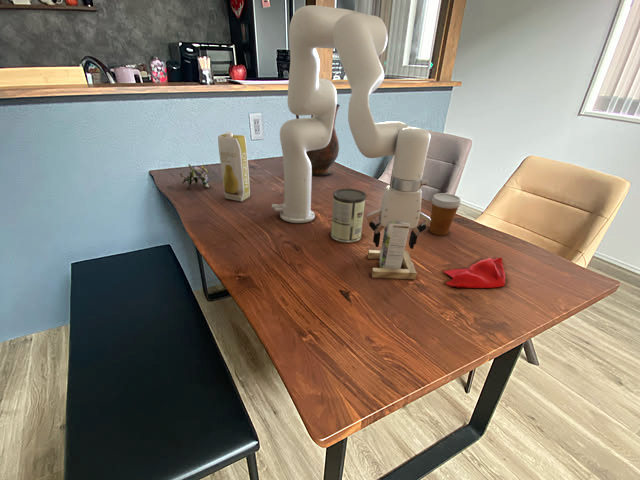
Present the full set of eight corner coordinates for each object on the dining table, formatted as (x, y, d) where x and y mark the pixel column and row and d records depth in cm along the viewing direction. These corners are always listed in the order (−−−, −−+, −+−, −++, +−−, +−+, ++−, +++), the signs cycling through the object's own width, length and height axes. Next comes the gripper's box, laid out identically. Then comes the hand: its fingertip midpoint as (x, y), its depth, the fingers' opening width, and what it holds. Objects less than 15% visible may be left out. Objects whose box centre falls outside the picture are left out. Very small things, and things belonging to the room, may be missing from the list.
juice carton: (222, 198, 144) (213, 132, 130) (233, 193, 150) (226, 128, 136) (242, 202, 142) (236, 135, 127) (252, 196, 148) (248, 131, 133)
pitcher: (343, 176, 176) (348, 104, 157) (303, 180, 168) (304, 105, 150) (327, 167, 187) (331, 99, 169) (289, 170, 179) (288, 100, 161)
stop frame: (372, 277, 100) (373, 271, 99) (367, 255, 111) (368, 249, 110) (415, 279, 101) (416, 273, 99) (406, 257, 111) (407, 251, 110)
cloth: (468, 299, 94) (471, 291, 92) (431, 274, 103) (433, 267, 102) (532, 276, 105) (535, 269, 103) (493, 256, 114) (495, 249, 113)
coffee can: (335, 227, 126) (338, 186, 118) (364, 232, 124) (369, 191, 115) (326, 239, 119) (328, 196, 110) (356, 245, 116) (361, 201, 108)
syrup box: (378, 261, 108) (385, 214, 99) (398, 262, 108) (407, 215, 99) (380, 271, 103) (388, 222, 95) (401, 272, 103) (410, 223, 95)
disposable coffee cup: (437, 239, 122) (446, 204, 115) (419, 228, 129) (426, 194, 122) (458, 234, 126) (468, 200, 119) (439, 224, 133) (447, 191, 125)
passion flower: (208, 200, 157) (214, 181, 147) (182, 198, 152) (186, 179, 142) (203, 178, 160) (208, 159, 150) (177, 176, 155) (181, 156, 145)
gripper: (435, 180, 94) (421, 241, 105) (369, 177, 94) (361, 238, 105) (443, 190, 89) (427, 253, 99) (372, 186, 88) (364, 250, 99)
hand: (393, 245), depth 102 cm, fingers open, 9 cm apart
